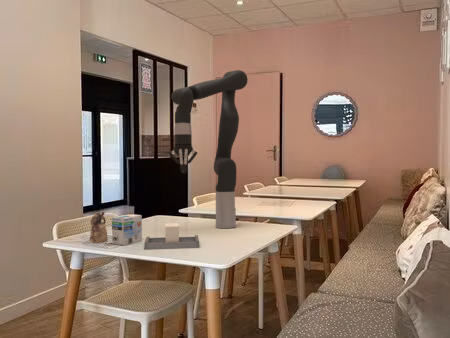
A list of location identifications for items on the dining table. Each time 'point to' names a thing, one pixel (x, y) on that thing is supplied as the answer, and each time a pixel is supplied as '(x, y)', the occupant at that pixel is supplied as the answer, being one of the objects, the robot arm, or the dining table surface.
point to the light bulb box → (126, 229)
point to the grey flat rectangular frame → (161, 243)
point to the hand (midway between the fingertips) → (183, 173)
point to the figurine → (98, 228)
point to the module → (172, 232)
